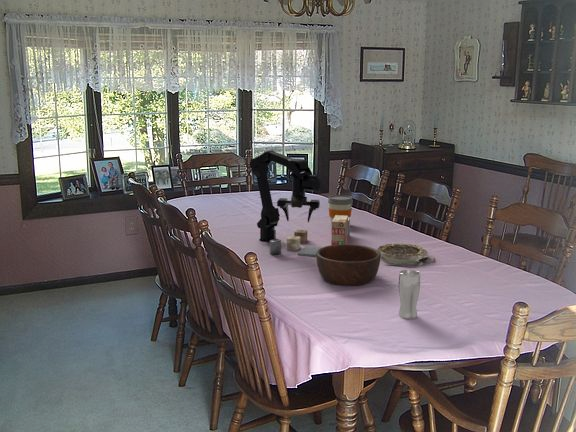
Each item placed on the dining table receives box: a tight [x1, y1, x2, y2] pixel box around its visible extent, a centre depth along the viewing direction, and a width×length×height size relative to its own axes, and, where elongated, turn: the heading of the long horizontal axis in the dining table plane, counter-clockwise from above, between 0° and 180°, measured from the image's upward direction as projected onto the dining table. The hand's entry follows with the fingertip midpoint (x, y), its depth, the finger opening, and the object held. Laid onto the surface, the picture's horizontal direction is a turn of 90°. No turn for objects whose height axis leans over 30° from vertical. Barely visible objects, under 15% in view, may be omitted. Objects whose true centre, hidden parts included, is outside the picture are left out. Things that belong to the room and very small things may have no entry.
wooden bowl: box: [315, 243, 382, 287], centre depth 244 cm, size 25×25×10 cm
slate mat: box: [297, 245, 322, 258], centre depth 278 cm, size 12×12×1 cm
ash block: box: [286, 235, 301, 251], centre depth 284 cm, size 5×5×5 cm
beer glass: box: [398, 269, 421, 320], centre depth 205 cm, size 7×7×15 cm
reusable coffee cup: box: [327, 194, 353, 227], centre depth 323 cm, size 12×12×15 cm
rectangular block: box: [293, 229, 308, 244], centre depth 295 cm, size 5×5×5 cm
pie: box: [376, 243, 436, 268], centre depth 270 cm, size 28×27×5 cm
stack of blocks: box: [330, 215, 351, 245], centre depth 295 cm, size 21×6×12 cm, turn 168°
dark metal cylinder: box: [269, 238, 282, 256], centre depth 275 cm, size 5×5×6 cm
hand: (298, 221), depth 283 cm, fingers open, 9 cm apart
